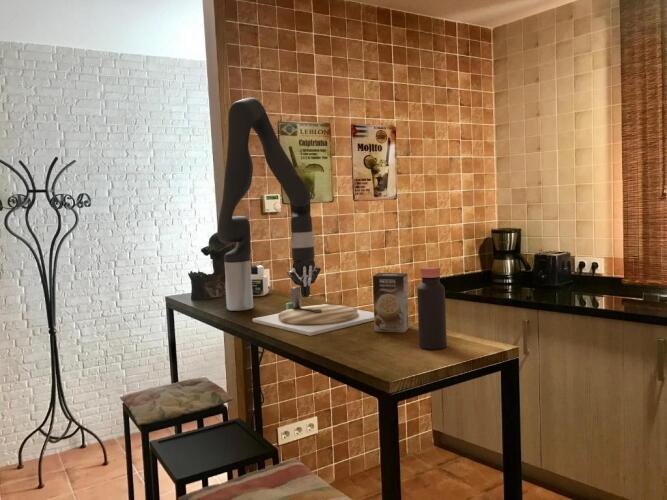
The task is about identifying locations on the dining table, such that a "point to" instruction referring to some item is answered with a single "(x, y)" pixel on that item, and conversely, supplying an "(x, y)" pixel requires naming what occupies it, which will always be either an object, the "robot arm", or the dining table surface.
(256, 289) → the medicine bottle
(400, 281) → the coffee box
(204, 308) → the dining table surface
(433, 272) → the dark grey water bottle
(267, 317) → the gauge plate
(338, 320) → the tan round piece
